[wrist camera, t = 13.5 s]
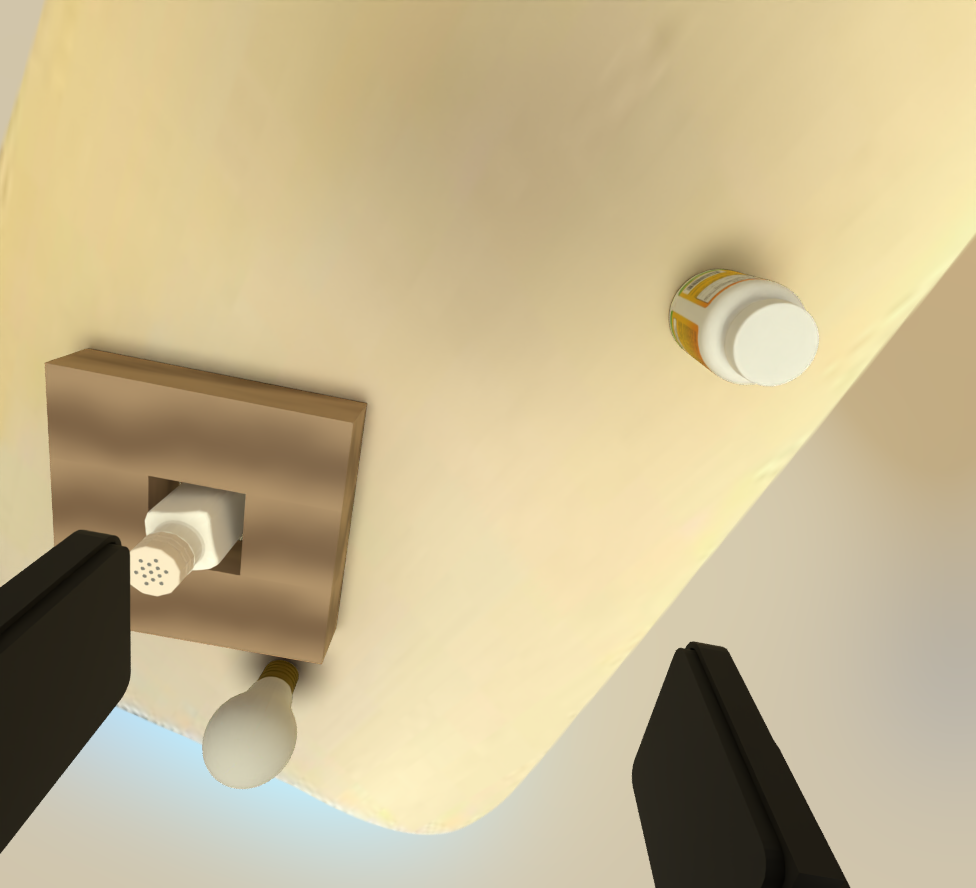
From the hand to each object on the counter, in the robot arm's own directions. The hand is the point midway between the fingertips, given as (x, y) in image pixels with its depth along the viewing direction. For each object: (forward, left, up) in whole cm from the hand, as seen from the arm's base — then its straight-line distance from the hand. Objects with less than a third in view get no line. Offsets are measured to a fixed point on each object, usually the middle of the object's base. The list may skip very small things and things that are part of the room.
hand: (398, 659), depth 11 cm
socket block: (+15, -15, -30) cm, 37 cm away
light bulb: (+28, -9, -31) cm, 43 cm away
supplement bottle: (-4, +14, -31) cm, 34 cm away
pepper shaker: (+15, -15, -31) cm, 37 cm away
